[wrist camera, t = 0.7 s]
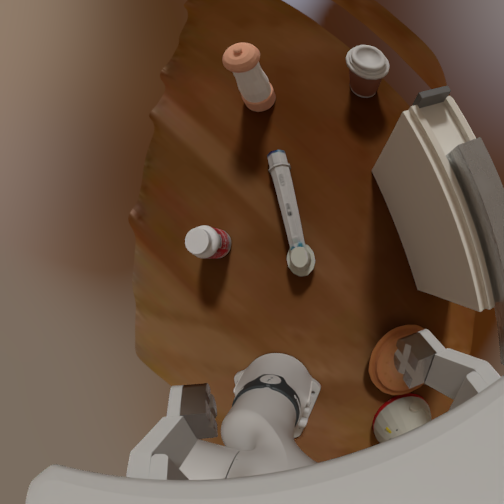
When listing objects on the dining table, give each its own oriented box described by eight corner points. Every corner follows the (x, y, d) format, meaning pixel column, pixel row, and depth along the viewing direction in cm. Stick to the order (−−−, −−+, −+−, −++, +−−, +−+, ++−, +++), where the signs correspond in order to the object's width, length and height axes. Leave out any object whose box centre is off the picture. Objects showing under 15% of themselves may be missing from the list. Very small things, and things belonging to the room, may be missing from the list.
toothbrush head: (286, 146, 54) (316, 270, 49) (291, 161, 60) (318, 273, 55) (261, 153, 55) (287, 277, 50) (268, 167, 61) (292, 279, 56)
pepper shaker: (277, 108, 58) (259, 58, 39) (246, 114, 60) (217, 67, 41) (273, 84, 58) (255, 32, 40) (243, 89, 60) (216, 41, 41)
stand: (451, 272, 49) (537, 283, 20) (417, 289, 50) (491, 316, 22) (405, 155, 51) (457, 83, 23) (370, 168, 53) (405, 96, 25)
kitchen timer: (392, 386, 51) (409, 420, 36) (437, 400, 48) (460, 432, 33) (361, 433, 52) (367, 473, 37) (406, 445, 49) (420, 482, 34)
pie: (424, 387, 49) (430, 396, 44) (360, 387, 53) (362, 398, 48) (438, 321, 49) (447, 326, 44) (372, 319, 53) (377, 325, 48)
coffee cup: (361, 109, 53) (368, 79, 42) (336, 82, 55) (336, 50, 43) (390, 92, 52) (400, 63, 40) (364, 67, 53) (368, 35, 41)
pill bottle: (236, 250, 60) (218, 249, 49) (211, 263, 61) (188, 264, 50) (224, 224, 60) (204, 217, 50) (200, 237, 62) (176, 233, 51)
